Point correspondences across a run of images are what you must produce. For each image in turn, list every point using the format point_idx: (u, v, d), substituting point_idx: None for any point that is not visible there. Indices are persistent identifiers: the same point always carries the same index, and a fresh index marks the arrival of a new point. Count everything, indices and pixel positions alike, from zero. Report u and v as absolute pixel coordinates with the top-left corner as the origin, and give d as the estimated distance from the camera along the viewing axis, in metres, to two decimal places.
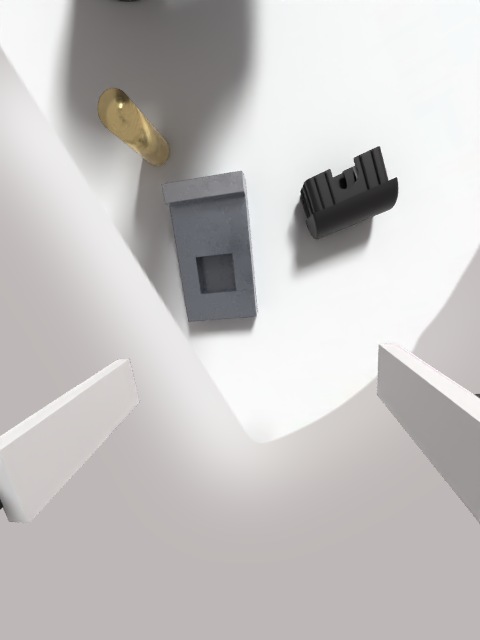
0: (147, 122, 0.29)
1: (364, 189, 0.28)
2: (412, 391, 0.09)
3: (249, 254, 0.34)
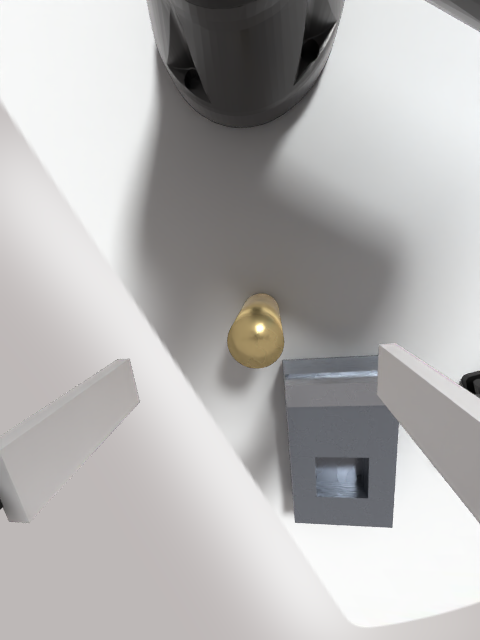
0: None
1: None
2: (411, 391, 0.09)
3: (394, 461, 0.25)
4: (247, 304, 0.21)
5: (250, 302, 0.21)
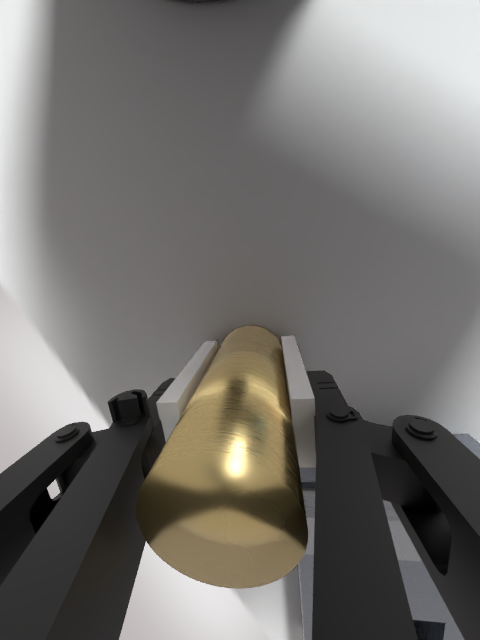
0: (290, 412, 0.09)
1: None
2: None
3: None
4: (218, 362, 0.10)
5: (225, 356, 0.10)
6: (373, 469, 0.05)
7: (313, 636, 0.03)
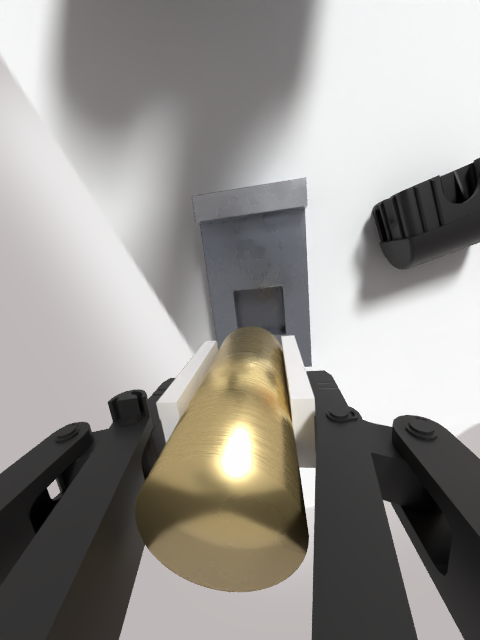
0: None
1: None
2: None
3: (306, 288, 0.26)
4: (218, 363, 0.10)
5: (225, 358, 0.10)
6: (373, 469, 0.05)
7: (313, 636, 0.03)
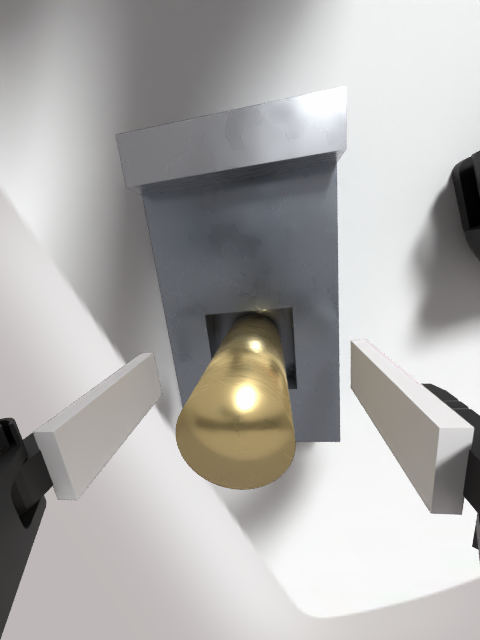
0: (286, 377, 0.11)
1: None
2: (373, 381, 0.09)
3: (335, 311, 0.14)
4: (228, 340, 0.12)
5: (233, 336, 0.13)
6: None
7: None
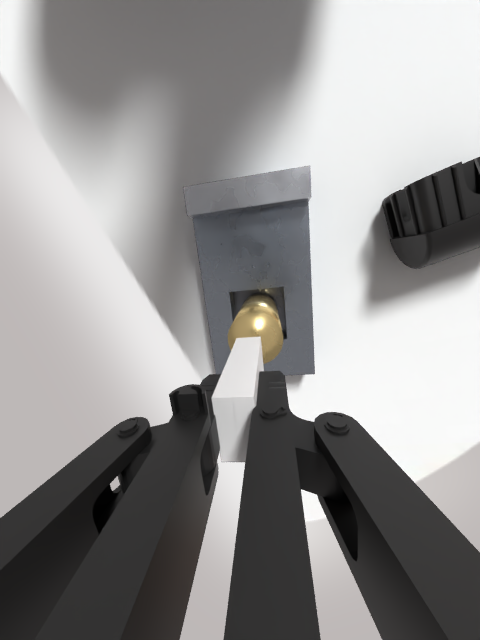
0: (279, 320, 0.20)
1: None
2: None
3: (309, 289, 0.23)
4: (246, 303, 0.22)
5: (249, 301, 0.22)
6: (295, 458, 0.06)
7: (226, 626, 0.03)
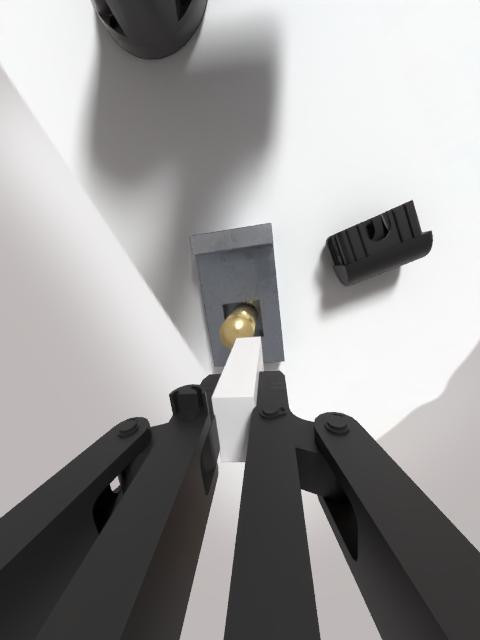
0: (254, 322, 0.30)
1: (397, 241, 0.28)
2: None
3: (277, 301, 0.34)
4: (232, 312, 0.32)
5: (234, 310, 0.32)
6: (295, 458, 0.06)
7: (226, 627, 0.03)
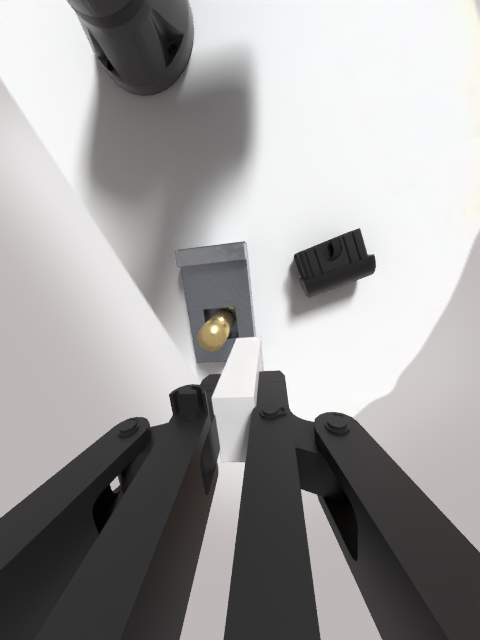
0: (228, 327, 0.36)
1: (347, 262, 0.33)
2: None
3: (250, 308, 0.39)
4: None
5: (212, 316, 0.38)
6: (295, 458, 0.06)
7: (226, 626, 0.03)
